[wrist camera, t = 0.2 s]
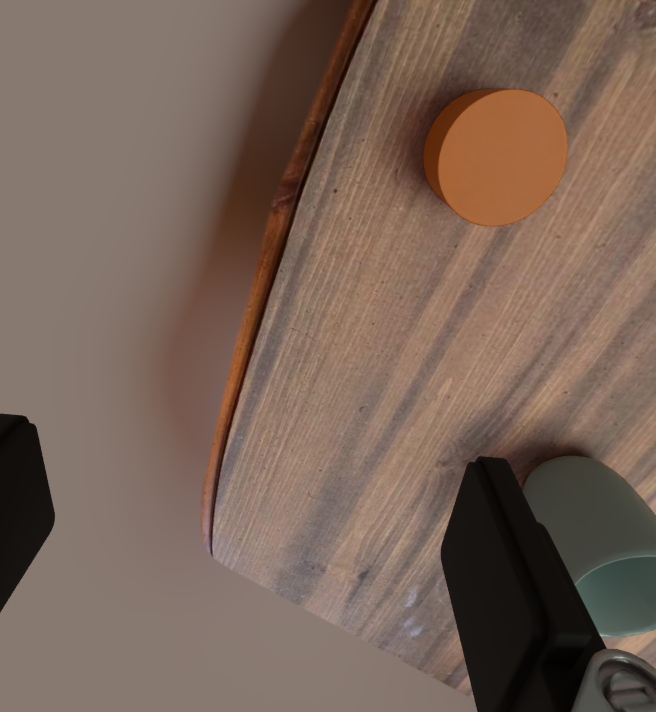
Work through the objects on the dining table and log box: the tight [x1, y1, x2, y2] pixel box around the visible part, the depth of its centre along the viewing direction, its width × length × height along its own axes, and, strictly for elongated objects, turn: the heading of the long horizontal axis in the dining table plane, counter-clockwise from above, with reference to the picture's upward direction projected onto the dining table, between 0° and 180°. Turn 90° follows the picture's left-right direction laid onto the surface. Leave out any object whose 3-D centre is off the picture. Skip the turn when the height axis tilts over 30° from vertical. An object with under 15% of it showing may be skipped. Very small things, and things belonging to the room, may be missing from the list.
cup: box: [522, 456, 656, 637], centre depth 33 cm, size 8×8×10 cm
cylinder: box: [423, 89, 568, 226], centre depth 25 cm, size 6×6×4 cm
